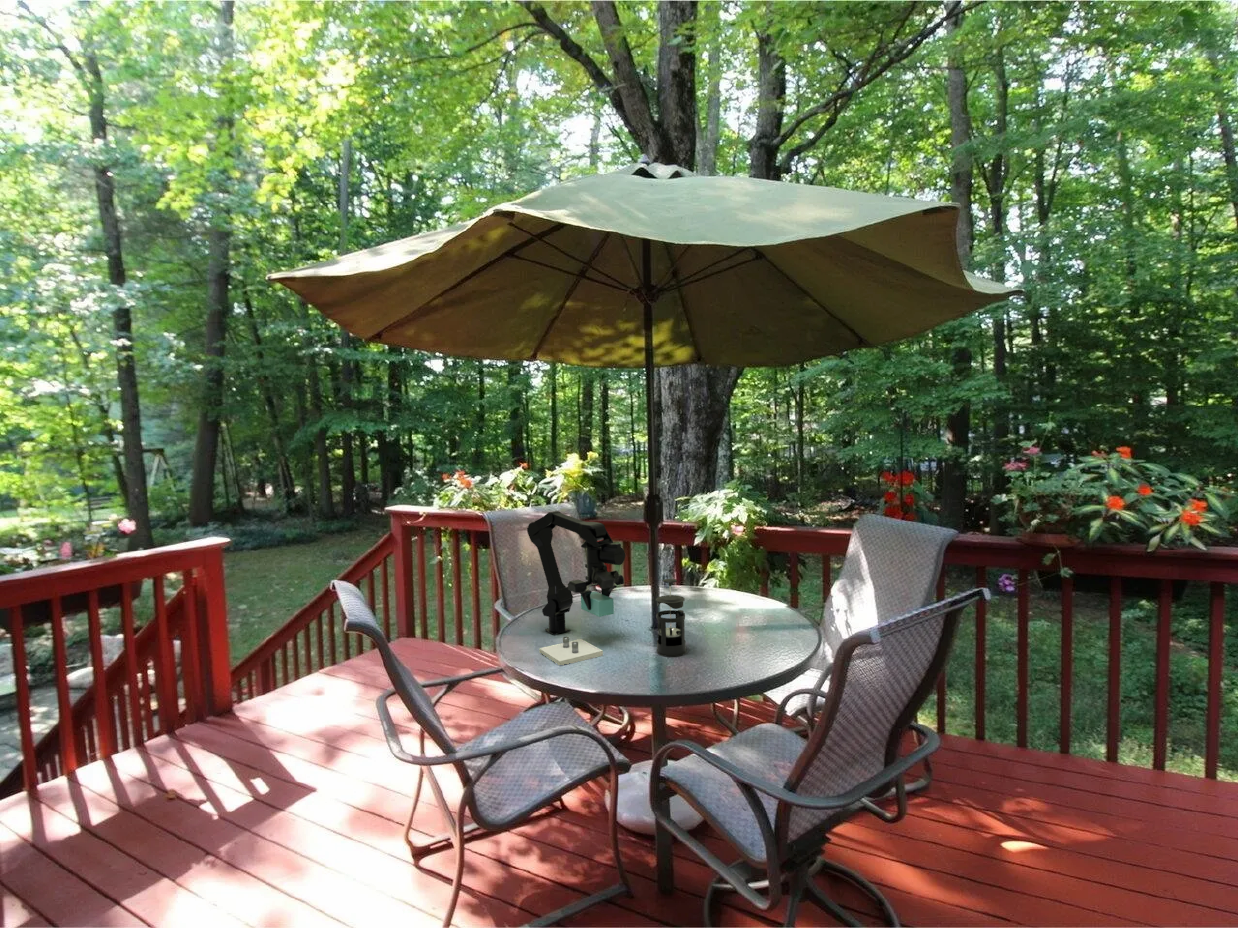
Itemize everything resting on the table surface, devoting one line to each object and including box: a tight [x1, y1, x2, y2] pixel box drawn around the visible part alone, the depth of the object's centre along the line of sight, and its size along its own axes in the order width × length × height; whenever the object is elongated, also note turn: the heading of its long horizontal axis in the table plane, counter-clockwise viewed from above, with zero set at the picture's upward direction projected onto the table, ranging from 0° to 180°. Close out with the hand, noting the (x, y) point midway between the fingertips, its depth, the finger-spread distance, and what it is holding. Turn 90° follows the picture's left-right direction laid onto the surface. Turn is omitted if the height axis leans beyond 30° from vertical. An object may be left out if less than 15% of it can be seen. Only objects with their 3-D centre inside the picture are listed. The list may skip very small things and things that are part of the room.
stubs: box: [562, 636, 579, 653], centre depth 208 cm, size 8×2×3 cm, turn 32°
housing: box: [580, 591, 615, 618], centre depth 219 cm, size 6×12×5 cm, turn 33°
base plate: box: [539, 638, 604, 666], centre depth 208 cm, size 14×15×2 cm
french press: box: [655, 578, 688, 658], centre depth 208 cm, size 12×9×23 cm
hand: (597, 608), depth 219 cm, fingers closed on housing, 6 cm apart
